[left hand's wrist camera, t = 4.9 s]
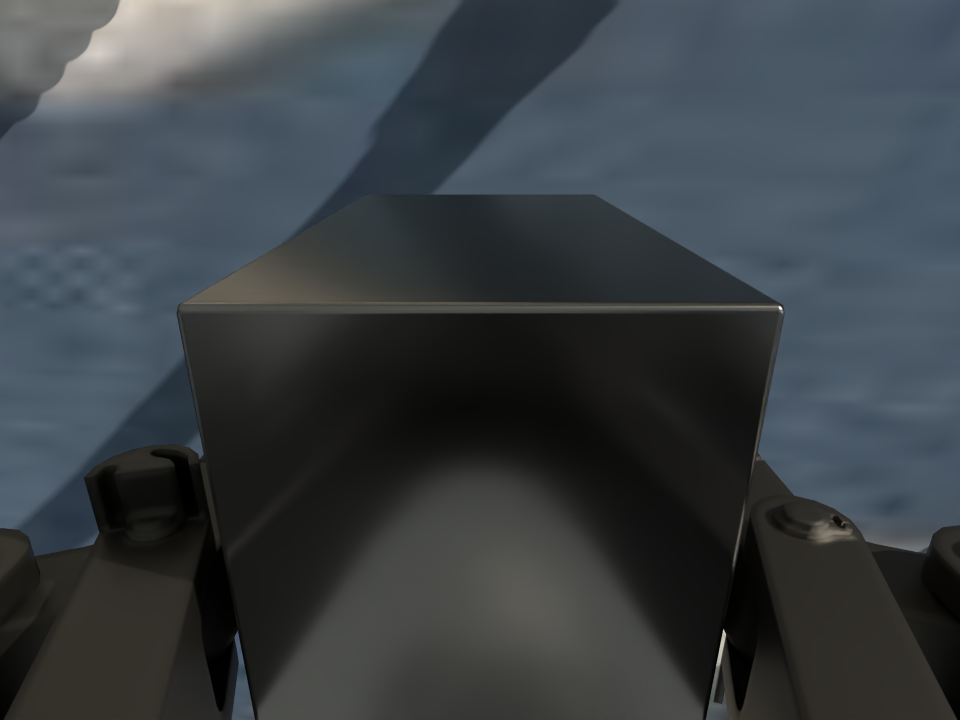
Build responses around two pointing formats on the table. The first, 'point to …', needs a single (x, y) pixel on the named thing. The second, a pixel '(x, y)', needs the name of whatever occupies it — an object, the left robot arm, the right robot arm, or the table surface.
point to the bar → (480, 459)
